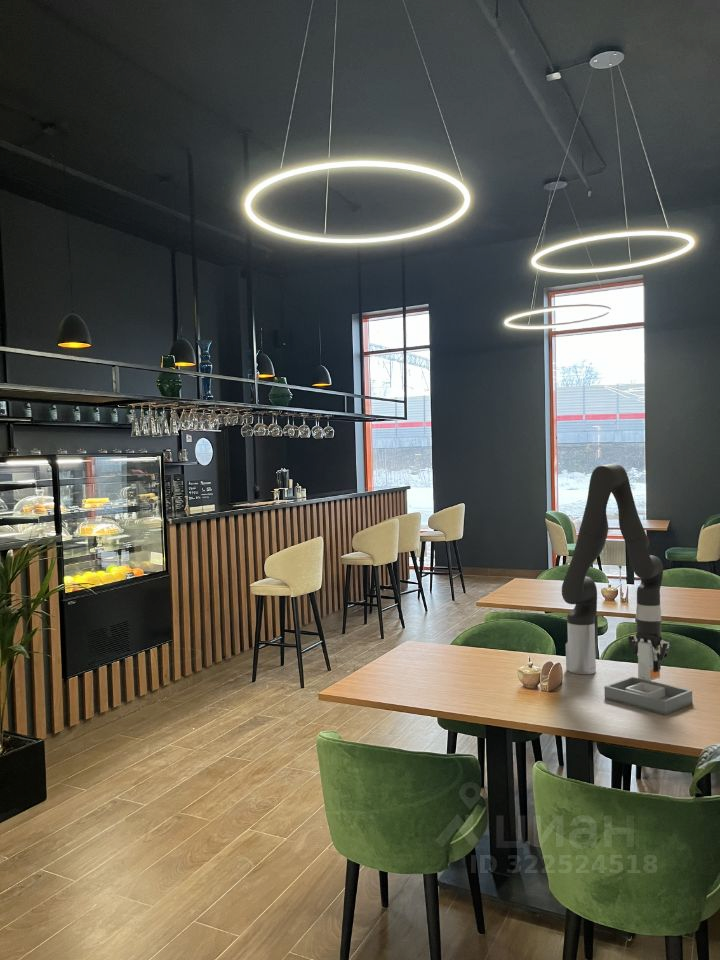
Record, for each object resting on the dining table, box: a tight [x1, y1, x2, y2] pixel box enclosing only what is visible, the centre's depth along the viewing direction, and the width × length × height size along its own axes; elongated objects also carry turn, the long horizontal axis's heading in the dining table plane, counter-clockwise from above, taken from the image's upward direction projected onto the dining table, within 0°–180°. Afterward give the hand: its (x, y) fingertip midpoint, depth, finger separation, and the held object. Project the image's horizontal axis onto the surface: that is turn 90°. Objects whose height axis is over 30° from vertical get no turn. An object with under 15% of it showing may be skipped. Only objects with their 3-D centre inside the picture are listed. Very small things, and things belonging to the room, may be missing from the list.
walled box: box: [603, 676, 693, 716], centre depth 219 cm, size 20×15×4 cm
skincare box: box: [637, 641, 661, 681], centre depth 233 cm, size 6×4×12 cm
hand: (649, 669), depth 233 cm, fingers closed on skincare box, 4 cm apart
